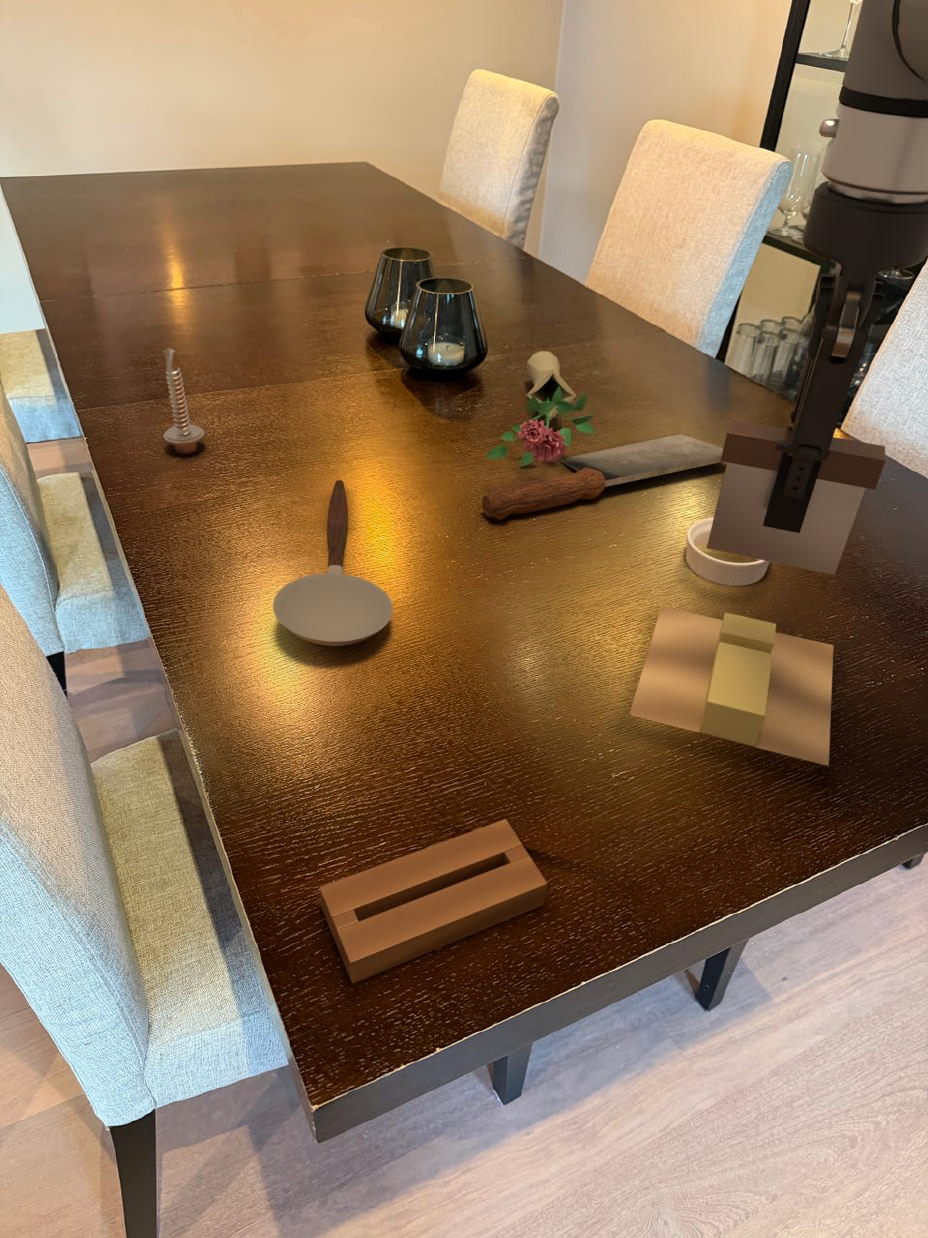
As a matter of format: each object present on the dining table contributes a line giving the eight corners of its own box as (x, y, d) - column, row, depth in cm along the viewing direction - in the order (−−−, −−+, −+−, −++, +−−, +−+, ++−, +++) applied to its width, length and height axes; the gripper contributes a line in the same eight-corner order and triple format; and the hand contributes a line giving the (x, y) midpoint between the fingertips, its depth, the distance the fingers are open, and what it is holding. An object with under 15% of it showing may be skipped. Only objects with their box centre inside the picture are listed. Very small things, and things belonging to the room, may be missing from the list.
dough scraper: (841, 583, 69) (885, 460, 63) (698, 553, 72) (727, 432, 65) (841, 567, 71) (885, 445, 64) (702, 538, 74) (730, 418, 67)
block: (544, 905, 62) (547, 883, 60) (352, 984, 57) (350, 963, 55) (503, 840, 66) (506, 818, 64) (321, 909, 61) (319, 887, 59)
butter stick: (754, 746, 72) (765, 715, 70) (698, 732, 73) (707, 701, 71) (762, 684, 78) (772, 653, 76) (710, 671, 79) (719, 641, 77)
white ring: (697, 602, 90) (706, 567, 87) (667, 553, 96) (674, 518, 94) (780, 595, 91) (791, 560, 88) (744, 547, 98) (754, 513, 95)
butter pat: (764, 674, 79) (774, 643, 77) (712, 661, 80) (721, 631, 78) (766, 653, 81) (776, 623, 79) (716, 642, 82) (725, 611, 80)
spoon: (268, 666, 79) (268, 638, 77) (292, 490, 105) (292, 467, 104) (391, 670, 80) (394, 643, 79) (384, 496, 107) (386, 473, 105)
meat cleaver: (679, 433, 119) (685, 405, 116) (734, 472, 111) (741, 442, 109) (450, 484, 107) (451, 454, 105) (494, 531, 99) (495, 500, 97)
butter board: (823, 778, 72) (829, 766, 71) (626, 726, 75) (629, 714, 74) (829, 657, 84) (833, 644, 83) (658, 617, 87) (661, 605, 86)
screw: (213, 451, 111) (176, 462, 108) (196, 437, 114) (160, 447, 111) (197, 350, 103) (157, 359, 100) (179, 336, 106) (140, 345, 103)
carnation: (559, 438, 133) (581, 514, 101) (482, 409, 131) (480, 478, 99) (591, 361, 128) (625, 416, 96) (511, 331, 126) (519, 376, 95)
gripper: (821, 156, 61) (743, 463, 76) (811, 209, 50) (722, 559, 64) (938, 168, 59) (835, 480, 74) (957, 226, 48) (831, 582, 62)
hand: (783, 516), depth 69 cm, fingers closed on dough scraper, 2 cm apart
